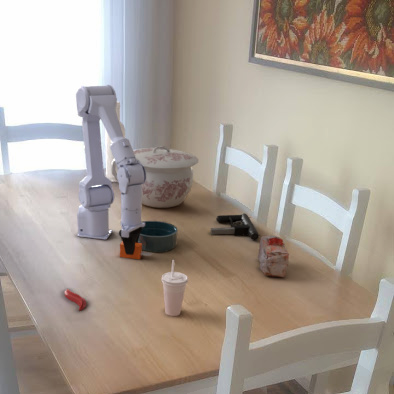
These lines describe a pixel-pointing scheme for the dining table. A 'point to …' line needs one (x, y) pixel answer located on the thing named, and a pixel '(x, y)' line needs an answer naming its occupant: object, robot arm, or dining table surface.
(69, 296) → the cayenne pepper
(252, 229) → the machine pistol
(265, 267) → the food item
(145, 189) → the chamber pot
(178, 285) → the smoothie
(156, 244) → the bowl
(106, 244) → the dining table surface
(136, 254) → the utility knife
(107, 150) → the bottle
